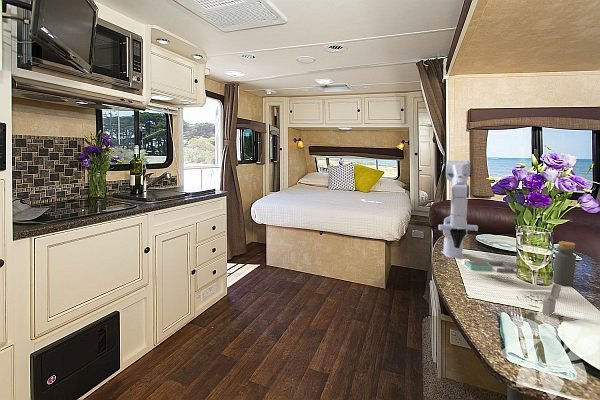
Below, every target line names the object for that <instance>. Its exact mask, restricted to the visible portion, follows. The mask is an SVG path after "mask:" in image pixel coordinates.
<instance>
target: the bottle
mask: <svg viewBox="0 0 600 400" xmlns="http://www.w3.org/2000/svg"><path fill="white" fill-rule="evenodd" d="M575 246H576V243H575V242H570V241H563V240H561V241H558V246H557V247H556V249H557V251H558V252H556V253H555V255H554V256H555V257H554V264H553V274H552V283H553V284H557V285H560V286H561V287H573V286H574V283H575V282H574V281H575V273H576V263H577V262H576V261H577V256H576V255H575V254H574V253H576V250H577V249H576V248H575Z"/></svg>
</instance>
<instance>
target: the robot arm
mask: <svg viewBox="0 0 600 400" xmlns="http://www.w3.org/2000/svg"><path fill="white" fill-rule="evenodd" d="M470 172H471V161H470V160H447V161H446V166H445V177H446V180H447V181H449V182H450V185H451V187H450V215H449V216H447V217H445V218H444V219H443V224H438V226H437V227H438V230H439V231H442V233H443V234H442V235H443V236H444V237H443V238H444V239H443V247H442V248H443V249H442V250H441V251H440V252H441V253H442V254H443V255H444V256H445V257H447V258H458V259H459V258H462V259H467V257H466V256H465V255H463V250H464V239H465V238H466V237H467V236H468V231H475V232H478V230H479V226H478V225H476V224H468V220H467V212H468V200H469V198H470V195H471V194H470V191H471V189H470V184H468V178H469V176H470Z"/></svg>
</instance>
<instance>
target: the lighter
mask: <svg viewBox="0 0 600 400" xmlns="http://www.w3.org/2000/svg"><path fill="white" fill-rule="evenodd" d="M561 289H562V285H558V284H556V283H552V286H551V289H550V292H549V294H548V295H546V298H544V299H543V300H542V310H541V314H542V313H543V314H546V315H550V314H552V313H553V312H555V311H556V301H557V300H558V299H559V296H560V292H561ZM555 313H556V312H555ZM543 314H542V315H543ZM553 314H554V313H553ZM553 314H552V315H553ZM546 315H545V316H546ZM550 316H551V315H550Z"/></svg>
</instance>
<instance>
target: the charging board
mask: <svg viewBox="0 0 600 400" xmlns="http://www.w3.org/2000/svg"><path fill="white" fill-rule="evenodd" d="M466 262H471V260H470V259H468V258H462V259H461V262H459V263H460V264H461V265H462V267H465V268H466V269H467V270H468V271H469V272H470V273H471V274H472V275H491V276H492V275H493V276H496V275H497V276H518V275H517V274H516V273H514V268H512V267H511V266H510V265H507V263H505V262H504V261H488V262H487V263H489V264H490V265H491V266H492V271H487V270H470V269H469V268H468V267H467V266H466Z"/></svg>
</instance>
